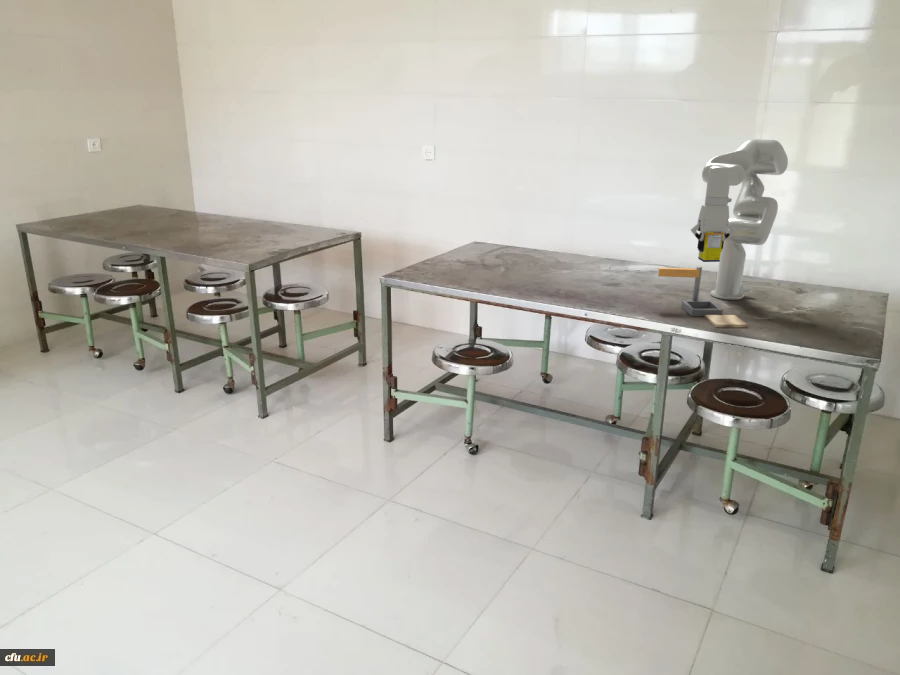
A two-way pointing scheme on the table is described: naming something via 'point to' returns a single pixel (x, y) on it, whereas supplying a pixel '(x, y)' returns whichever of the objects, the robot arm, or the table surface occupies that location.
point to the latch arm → (684, 273)
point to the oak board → (725, 321)
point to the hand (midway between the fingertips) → (709, 250)
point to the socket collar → (690, 306)
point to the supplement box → (711, 247)
